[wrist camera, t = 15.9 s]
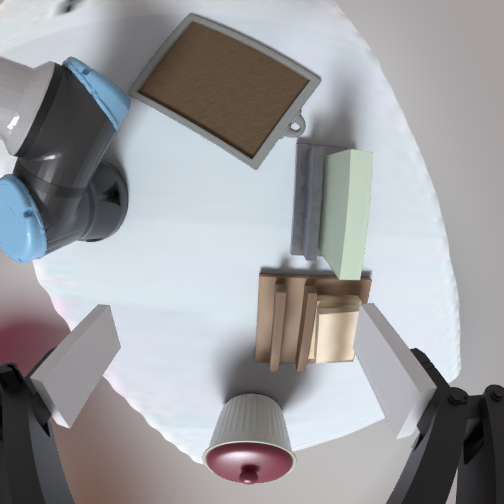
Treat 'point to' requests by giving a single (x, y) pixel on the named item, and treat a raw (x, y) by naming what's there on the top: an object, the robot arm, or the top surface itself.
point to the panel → (345, 211)
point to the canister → (250, 441)
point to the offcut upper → (335, 333)
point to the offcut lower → (330, 302)
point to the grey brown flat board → (226, 88)
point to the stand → (308, 198)
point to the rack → (295, 314)
